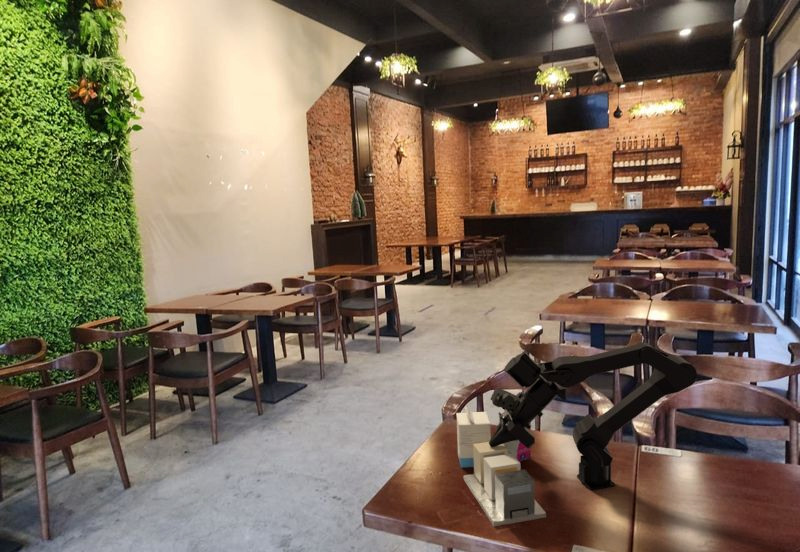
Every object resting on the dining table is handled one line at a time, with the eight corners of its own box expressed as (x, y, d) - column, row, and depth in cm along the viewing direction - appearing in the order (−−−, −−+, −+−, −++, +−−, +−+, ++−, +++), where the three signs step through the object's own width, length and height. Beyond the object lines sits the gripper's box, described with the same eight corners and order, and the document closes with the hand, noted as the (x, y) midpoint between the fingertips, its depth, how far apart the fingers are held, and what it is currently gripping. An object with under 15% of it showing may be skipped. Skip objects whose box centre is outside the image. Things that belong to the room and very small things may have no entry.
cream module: (512, 484, 123) (511, 453, 122) (521, 495, 119) (520, 463, 118) (484, 489, 122) (483, 457, 121) (492, 500, 117) (491, 468, 116)
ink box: (492, 466, 135) (491, 417, 133) (460, 468, 135) (458, 418, 134) (487, 451, 144) (486, 404, 142) (457, 452, 144) (455, 406, 142)
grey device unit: (508, 472, 132) (508, 439, 131) (546, 517, 112) (545, 479, 111) (463, 479, 130) (462, 445, 128) (493, 526, 110) (492, 487, 109)
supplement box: (514, 464, 136) (513, 422, 134) (500, 455, 141) (499, 415, 139) (531, 458, 138) (531, 417, 137) (517, 450, 143) (516, 410, 142)
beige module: (500, 469, 130) (499, 440, 129) (508, 479, 126) (507, 449, 125) (474, 473, 129) (473, 444, 128) (481, 484, 124) (480, 453, 123)
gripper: (503, 366, 133) (461, 409, 135) (519, 391, 115) (470, 441, 116) (534, 394, 134) (493, 436, 136) (555, 424, 116) (506, 472, 117)
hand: (490, 445), depth 126 cm, fingers closed, pressing on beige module
